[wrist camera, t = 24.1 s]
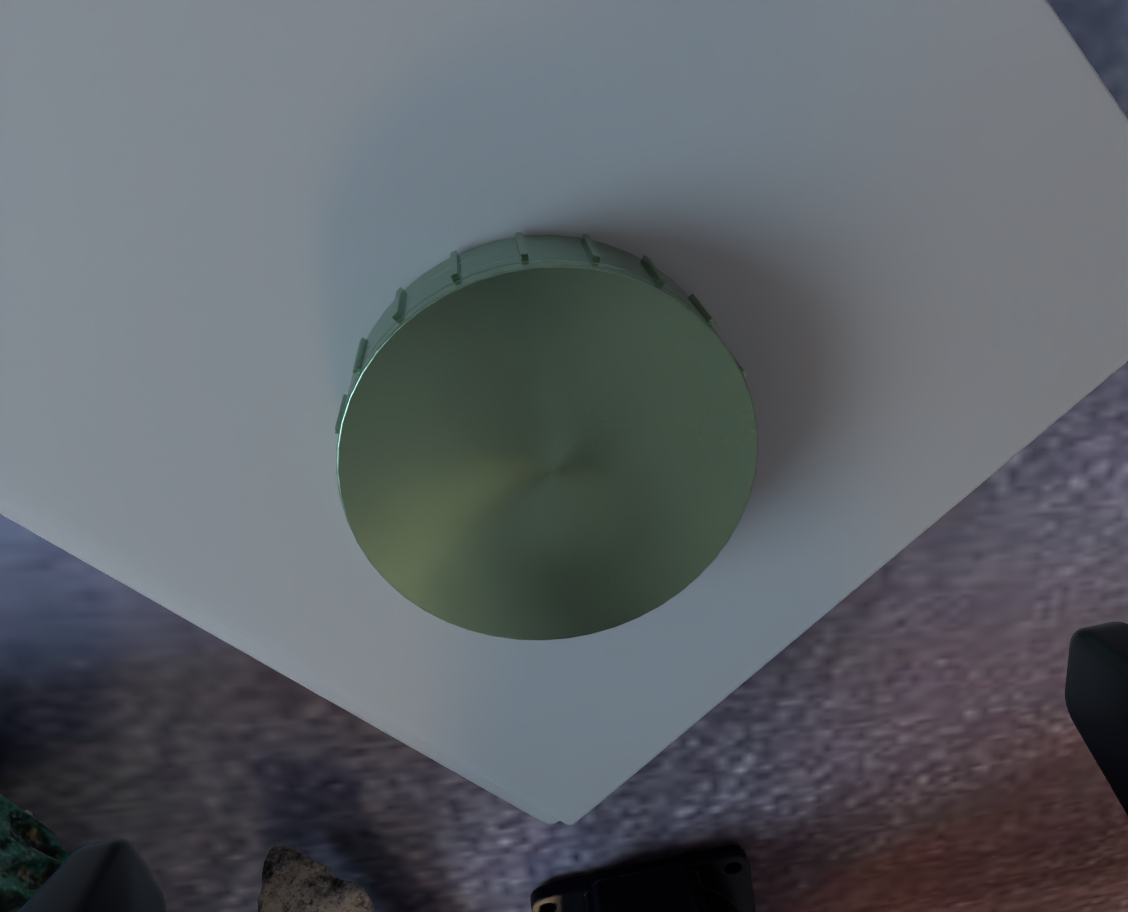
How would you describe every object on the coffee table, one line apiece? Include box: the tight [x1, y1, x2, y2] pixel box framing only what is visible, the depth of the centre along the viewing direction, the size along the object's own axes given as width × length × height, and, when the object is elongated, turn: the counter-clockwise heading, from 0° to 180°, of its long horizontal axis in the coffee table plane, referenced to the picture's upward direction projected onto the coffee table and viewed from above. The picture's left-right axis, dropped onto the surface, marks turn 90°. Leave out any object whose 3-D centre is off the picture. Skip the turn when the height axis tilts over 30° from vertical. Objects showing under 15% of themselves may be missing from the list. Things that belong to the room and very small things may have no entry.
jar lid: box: [334, 232, 758, 640], centre depth 15 cm, size 7×7×2 cm
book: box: [0, 0, 1128, 825], centre depth 16 cm, size 18×4×24 cm
